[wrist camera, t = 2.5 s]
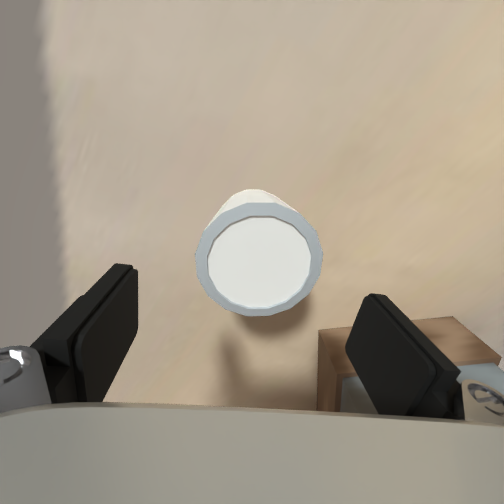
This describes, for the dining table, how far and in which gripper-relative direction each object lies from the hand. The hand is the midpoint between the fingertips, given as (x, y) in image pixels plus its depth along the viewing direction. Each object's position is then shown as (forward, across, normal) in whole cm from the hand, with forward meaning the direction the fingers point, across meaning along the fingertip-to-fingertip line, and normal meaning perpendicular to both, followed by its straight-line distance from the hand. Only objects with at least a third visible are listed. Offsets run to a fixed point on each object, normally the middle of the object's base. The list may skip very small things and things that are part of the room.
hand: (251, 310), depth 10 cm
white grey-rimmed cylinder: (+11, -1, 0) cm, 11 cm away
